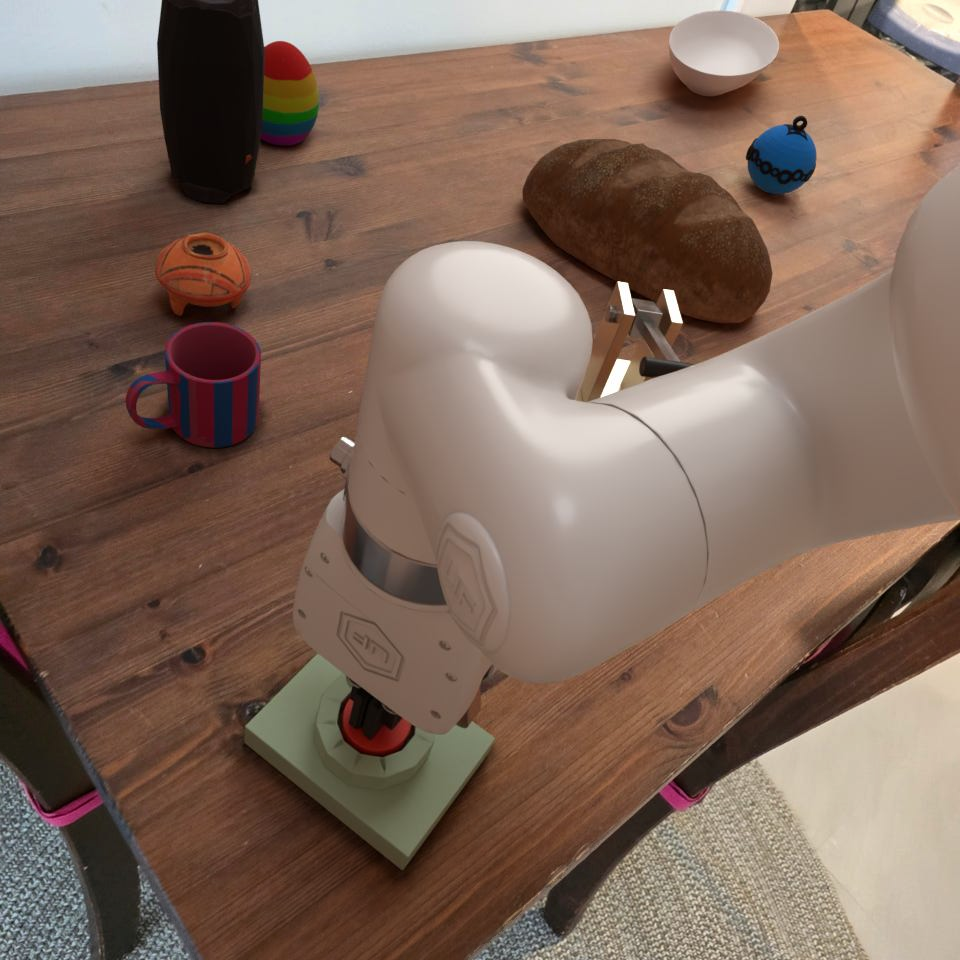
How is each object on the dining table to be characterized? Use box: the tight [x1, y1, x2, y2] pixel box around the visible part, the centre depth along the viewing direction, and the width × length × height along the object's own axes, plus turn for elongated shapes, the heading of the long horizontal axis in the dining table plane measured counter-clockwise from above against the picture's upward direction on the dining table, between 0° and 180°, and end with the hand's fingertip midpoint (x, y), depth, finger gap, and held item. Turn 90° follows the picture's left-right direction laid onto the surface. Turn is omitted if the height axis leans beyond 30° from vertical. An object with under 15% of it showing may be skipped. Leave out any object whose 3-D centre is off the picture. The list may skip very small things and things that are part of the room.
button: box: [340, 699, 412, 757], centre depth 52 cm, size 4×4×2 cm
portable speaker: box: [156, 0, 265, 204], centre depth 83 cm, size 9×9×20 cm
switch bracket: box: [575, 281, 684, 402], centre depth 76 cm, size 11×9×12 cm
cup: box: [125, 321, 262, 449], centre depth 66 cm, size 7×10×7 cm
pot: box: [154, 232, 252, 316], centre depth 76 cm, size 8×8×7 cm
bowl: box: [668, 10, 780, 97], centre depth 134 cm, size 30×15×6 cm, turn 150°
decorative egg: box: [261, 40, 320, 147], centre depth 96 cm, size 8×8×10 cm
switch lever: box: [627, 297, 696, 378], centre depth 69 cm, size 12×5×2 cm, turn 1°
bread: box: [522, 138, 773, 324], centre depth 94 cm, size 16×29×11 cm, turn 55°
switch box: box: [243, 652, 496, 871], centre depth 53 cm, size 12×9×4 cm
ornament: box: [745, 115, 818, 195], centre depth 112 cm, size 9×9×10 cm
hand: (375, 713), depth 51 cm, fingers closed
